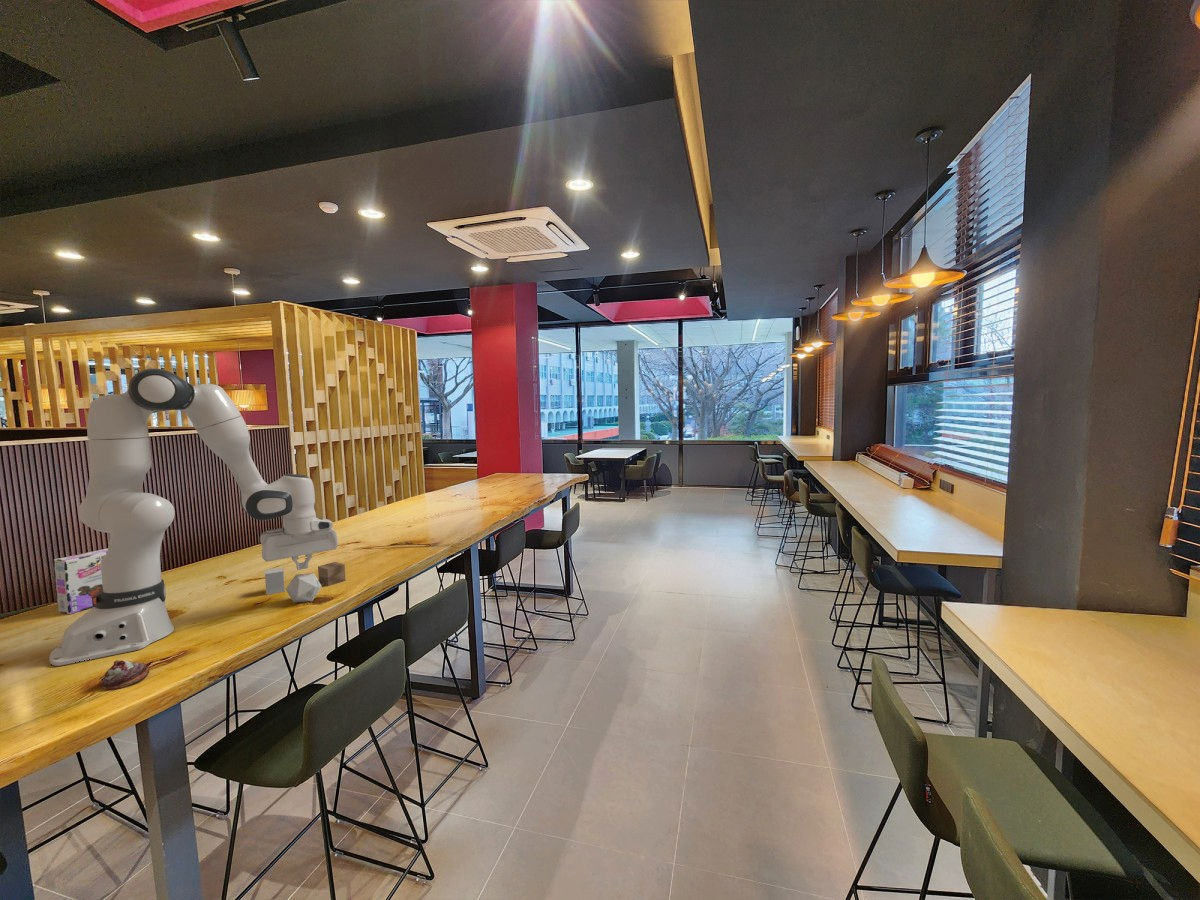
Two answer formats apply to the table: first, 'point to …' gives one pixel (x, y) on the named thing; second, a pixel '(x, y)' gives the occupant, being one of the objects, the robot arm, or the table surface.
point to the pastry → (124, 675)
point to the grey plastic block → (274, 581)
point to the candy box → (78, 580)
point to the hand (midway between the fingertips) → (302, 568)
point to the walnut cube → (331, 573)
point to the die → (303, 587)
